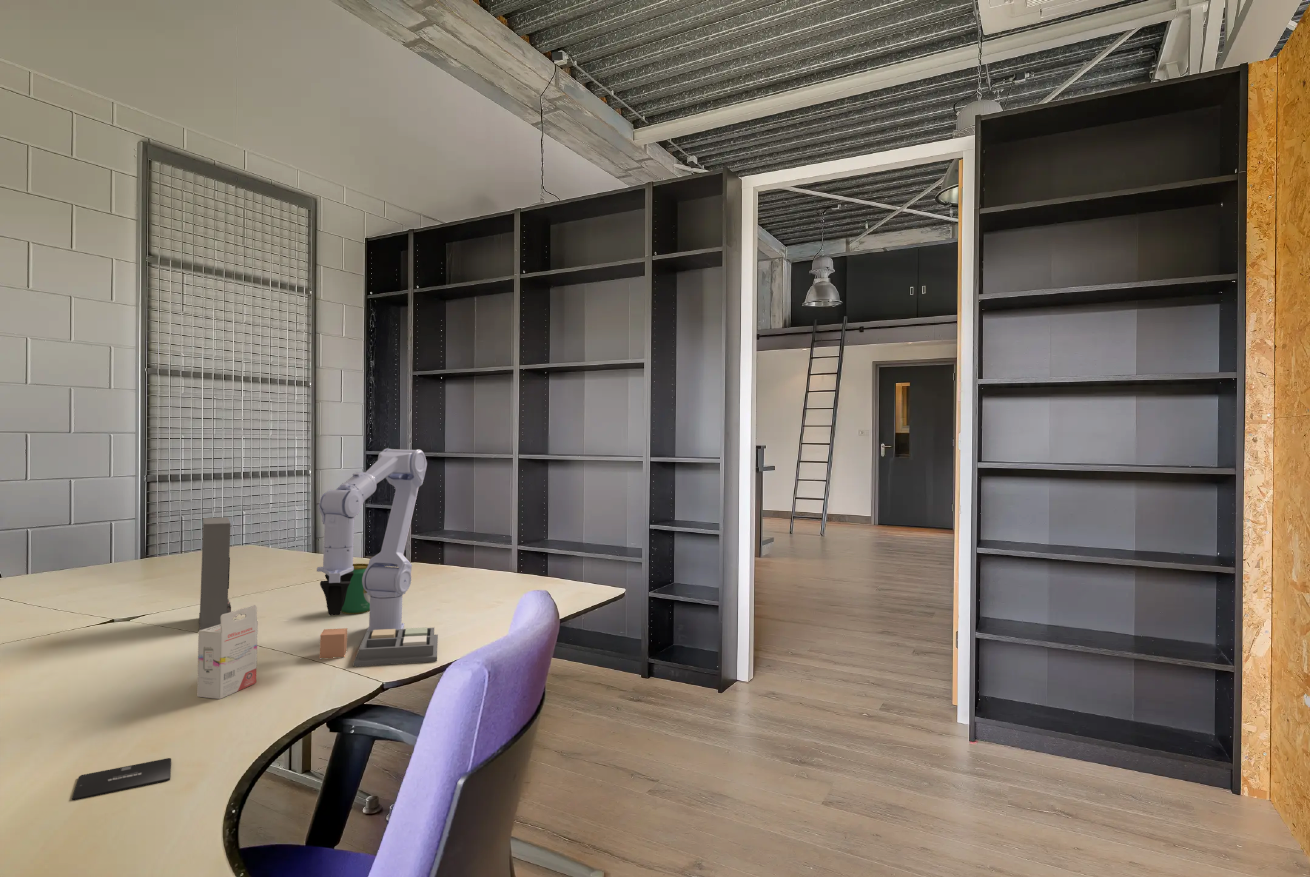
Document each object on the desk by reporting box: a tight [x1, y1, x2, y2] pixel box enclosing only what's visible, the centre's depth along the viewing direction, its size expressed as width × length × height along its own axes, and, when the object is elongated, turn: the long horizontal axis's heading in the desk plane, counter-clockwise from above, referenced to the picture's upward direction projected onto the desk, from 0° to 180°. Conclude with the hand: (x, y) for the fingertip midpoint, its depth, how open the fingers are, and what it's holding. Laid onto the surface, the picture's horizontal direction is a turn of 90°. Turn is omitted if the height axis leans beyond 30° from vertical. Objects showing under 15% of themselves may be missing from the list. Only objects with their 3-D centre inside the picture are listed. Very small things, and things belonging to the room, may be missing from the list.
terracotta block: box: [319, 627, 348, 659], centre depth 144 cm, size 5×5×5 cm
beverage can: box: [341, 563, 370, 615], centre depth 182 cm, size 8×8×12 cm
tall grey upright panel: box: [198, 517, 232, 630], centre depth 166 cm, size 14×6×25 cm, turn 34°
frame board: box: [353, 627, 439, 667], centre depth 148 cm, size 17×16×4 cm
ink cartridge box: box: [196, 604, 259, 700], centre depth 123 cm, size 9×5×15 cm, turn 168°
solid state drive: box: [71, 757, 172, 801], centre depth 90 cm, size 7×10×1 cm
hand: (336, 610), depth 144 cm, fingers open, 7 cm apart
